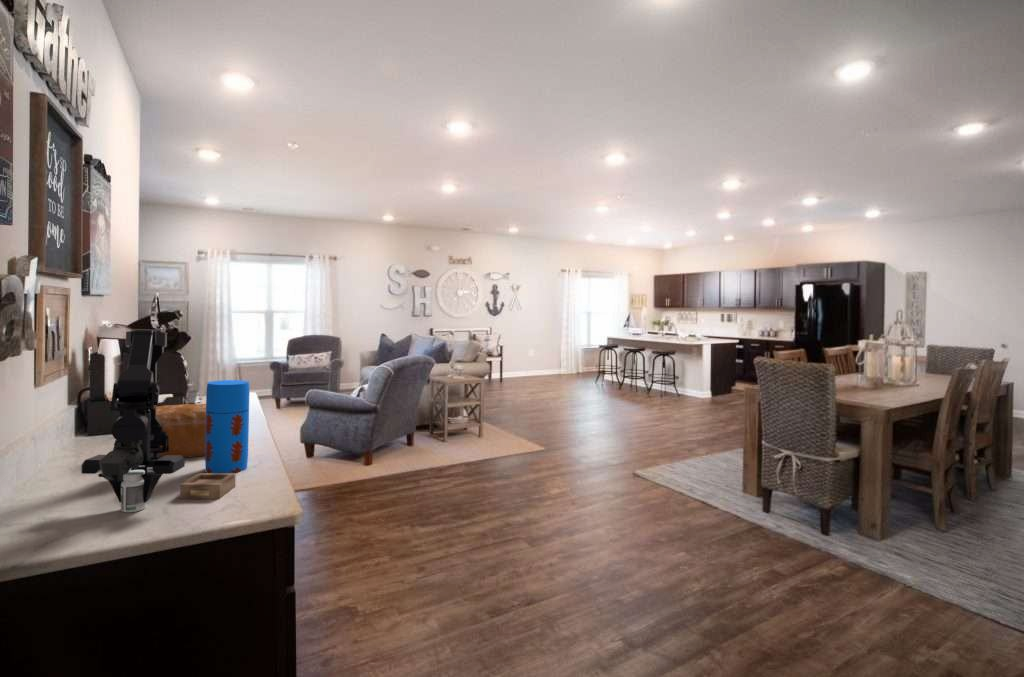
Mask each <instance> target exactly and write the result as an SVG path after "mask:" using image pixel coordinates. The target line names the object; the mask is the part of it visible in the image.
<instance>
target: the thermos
mask: <svg viewBox="0 0 1024 677" xmlns="http://www.w3.org/2000/svg"><path fill="white" fill-rule="evenodd" d="M250 391H251V390H250V381H248V380H241V379H240V380H239V379H238V380H237V379H236V380H235V379H234V380H233V379H229V380H227V379H226V380H213V381H208V382H207V385H206V393H205V394H206V397H205V398H206V400H205V404H206V440H205V456H204V463H205V473H236V474H237V473H240V472H243V471H245V470H246V468H247V469H248V462H249V461H248V459H249V432H250V427H249V426H250Z"/></svg>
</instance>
